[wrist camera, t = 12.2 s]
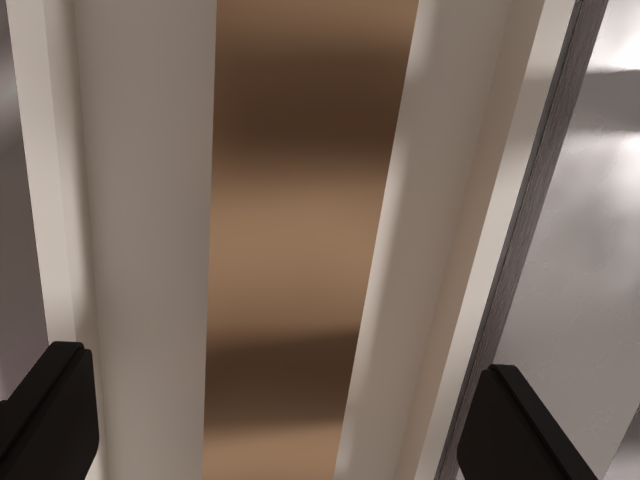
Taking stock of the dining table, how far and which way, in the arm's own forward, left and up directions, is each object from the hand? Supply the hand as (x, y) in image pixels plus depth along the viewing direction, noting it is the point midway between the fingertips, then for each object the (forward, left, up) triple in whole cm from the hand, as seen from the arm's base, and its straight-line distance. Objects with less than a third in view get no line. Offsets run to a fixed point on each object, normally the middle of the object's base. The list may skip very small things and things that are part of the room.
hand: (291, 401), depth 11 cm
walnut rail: (0, 0, -6) cm, 6 cm away
